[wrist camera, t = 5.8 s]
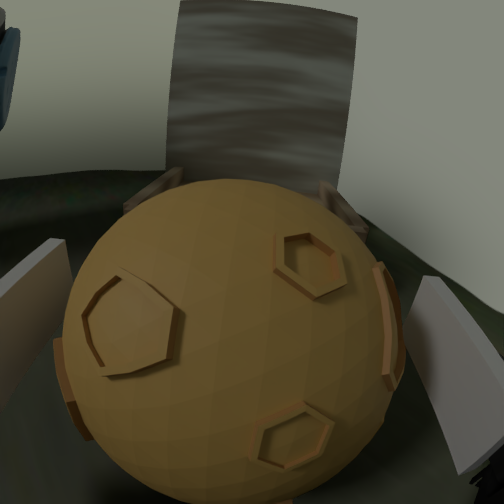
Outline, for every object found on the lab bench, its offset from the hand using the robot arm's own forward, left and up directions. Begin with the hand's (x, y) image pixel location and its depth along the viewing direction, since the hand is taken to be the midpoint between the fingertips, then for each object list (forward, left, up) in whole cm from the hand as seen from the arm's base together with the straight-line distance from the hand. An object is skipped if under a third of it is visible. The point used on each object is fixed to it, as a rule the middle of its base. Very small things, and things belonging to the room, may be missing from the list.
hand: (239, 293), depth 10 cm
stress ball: (+1, -2, -6) cm, 6 cm away
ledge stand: (-8, +13, -6) cm, 16 cm away
